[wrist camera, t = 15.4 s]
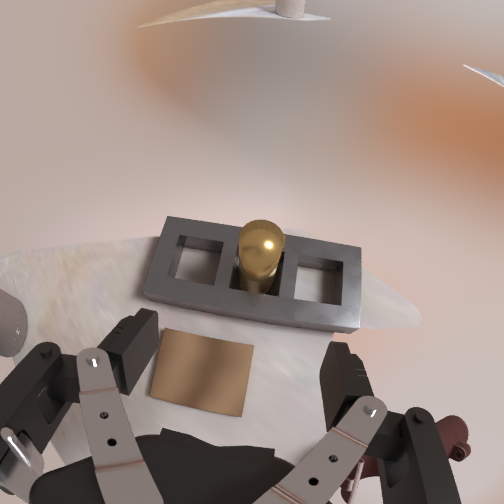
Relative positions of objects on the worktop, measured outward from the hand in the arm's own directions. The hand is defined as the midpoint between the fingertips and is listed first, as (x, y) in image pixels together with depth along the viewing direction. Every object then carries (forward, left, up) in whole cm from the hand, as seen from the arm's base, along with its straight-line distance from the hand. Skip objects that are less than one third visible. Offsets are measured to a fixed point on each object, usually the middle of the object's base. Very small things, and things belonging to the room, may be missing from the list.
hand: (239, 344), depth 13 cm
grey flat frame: (0, +11, -19) cm, 22 cm away
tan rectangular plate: (-4, -1, -19) cm, 19 cm away
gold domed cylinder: (0, +11, -19) cm, 22 cm away
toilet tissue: (-4, +123, -19) cm, 124 cm away
